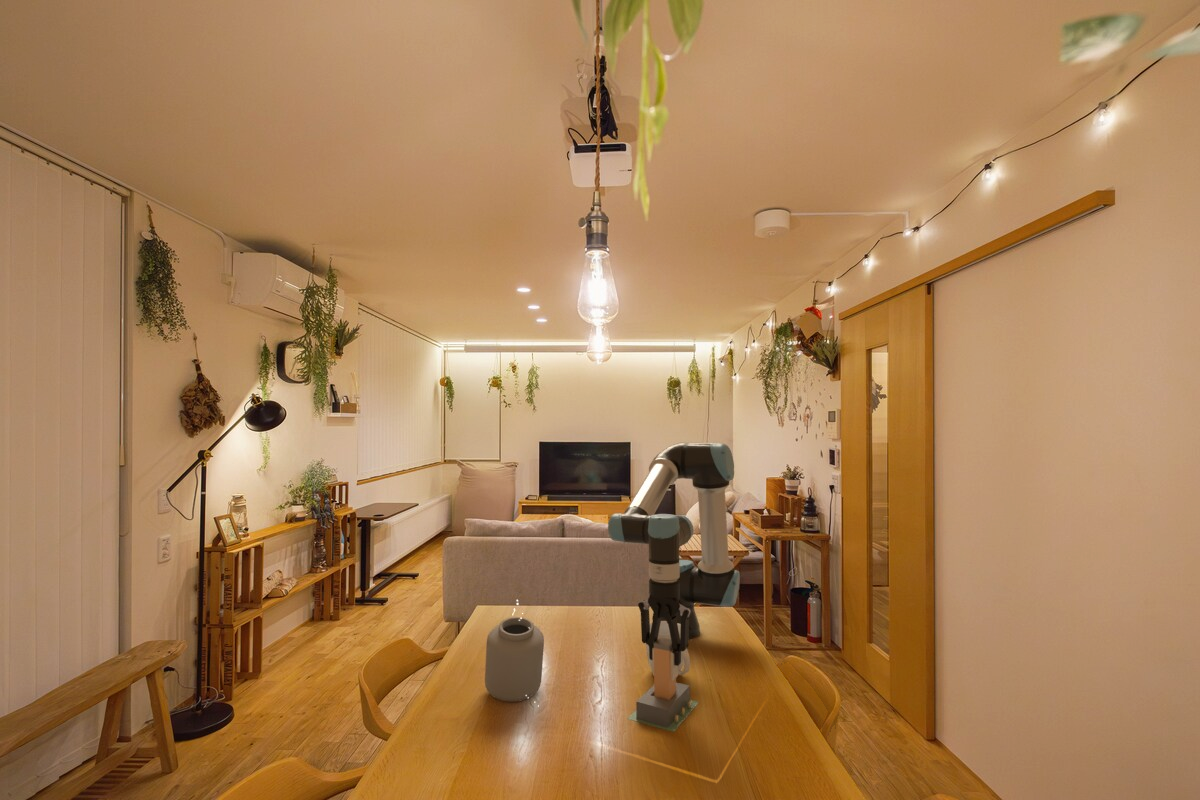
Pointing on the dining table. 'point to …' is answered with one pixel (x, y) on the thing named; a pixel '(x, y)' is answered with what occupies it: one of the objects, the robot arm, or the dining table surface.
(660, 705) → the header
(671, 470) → the robot arm
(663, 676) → the plug
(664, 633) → the mug
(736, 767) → the dining table surface
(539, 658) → the jar
